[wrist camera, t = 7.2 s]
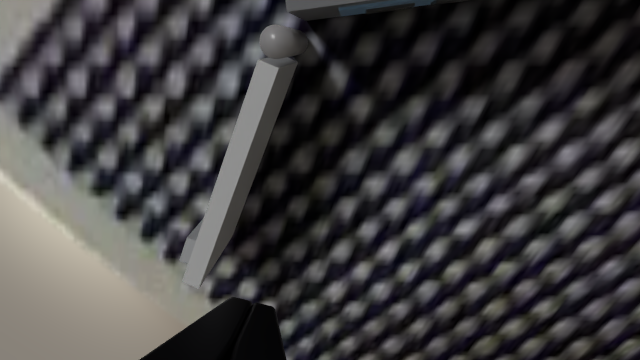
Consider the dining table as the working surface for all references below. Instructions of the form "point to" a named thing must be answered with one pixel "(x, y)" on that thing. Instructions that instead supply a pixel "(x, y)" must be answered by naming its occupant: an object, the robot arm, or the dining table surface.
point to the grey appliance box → (351, 7)
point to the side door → (244, 150)
